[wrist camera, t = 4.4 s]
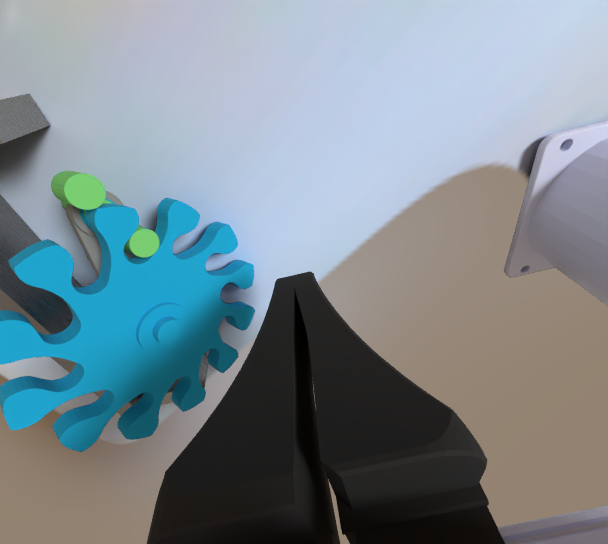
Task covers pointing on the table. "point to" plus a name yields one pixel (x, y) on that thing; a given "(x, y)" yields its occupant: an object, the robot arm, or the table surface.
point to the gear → (122, 315)
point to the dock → (17, 236)
